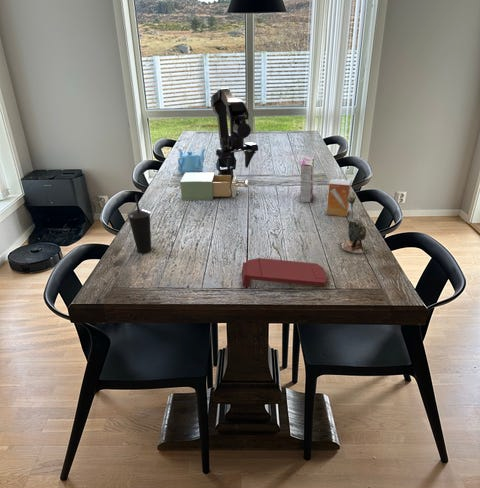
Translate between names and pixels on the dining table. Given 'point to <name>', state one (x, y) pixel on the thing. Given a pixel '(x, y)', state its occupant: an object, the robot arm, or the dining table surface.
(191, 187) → the cabinet
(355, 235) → the plant with pod
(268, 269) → the red flat block
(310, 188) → the candy bar box
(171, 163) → the dining table surface
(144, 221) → the drinking cup
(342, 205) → the small box
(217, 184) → the drawer
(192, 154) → the teapot
